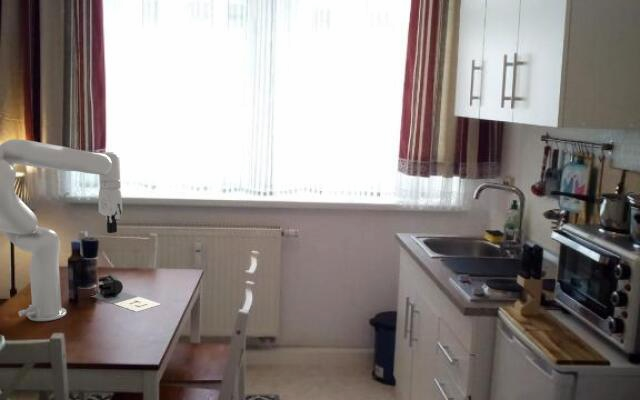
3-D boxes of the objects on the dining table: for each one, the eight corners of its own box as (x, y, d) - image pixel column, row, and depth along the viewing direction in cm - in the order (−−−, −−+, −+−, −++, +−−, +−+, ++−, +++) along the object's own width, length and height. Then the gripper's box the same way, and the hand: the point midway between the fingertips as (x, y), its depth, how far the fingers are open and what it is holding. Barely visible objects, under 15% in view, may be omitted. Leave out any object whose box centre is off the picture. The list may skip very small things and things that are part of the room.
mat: (113, 304, 249) (113, 303, 249) (89, 295, 259) (89, 295, 259) (138, 297, 258) (138, 296, 258) (113, 289, 267) (113, 289, 267)
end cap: (123, 295, 259) (122, 279, 257) (104, 298, 255) (103, 281, 254) (116, 289, 267) (116, 272, 266) (98, 291, 263) (97, 275, 262)
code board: (136, 311, 240) (136, 311, 240) (113, 304, 249) (113, 303, 249) (161, 304, 249) (161, 304, 249) (138, 297, 258) (138, 296, 258)
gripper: (90, 184, 254) (93, 231, 257) (111, 188, 244) (113, 236, 247) (108, 182, 260) (110, 228, 263) (129, 185, 250) (131, 233, 253)
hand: (112, 232), depth 255 cm, fingers closed
